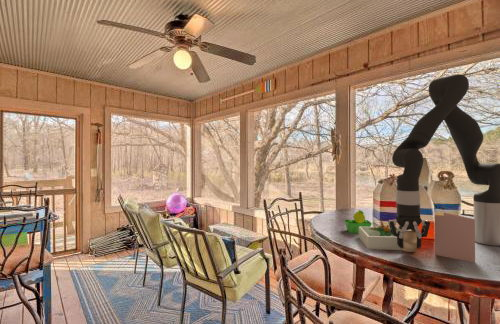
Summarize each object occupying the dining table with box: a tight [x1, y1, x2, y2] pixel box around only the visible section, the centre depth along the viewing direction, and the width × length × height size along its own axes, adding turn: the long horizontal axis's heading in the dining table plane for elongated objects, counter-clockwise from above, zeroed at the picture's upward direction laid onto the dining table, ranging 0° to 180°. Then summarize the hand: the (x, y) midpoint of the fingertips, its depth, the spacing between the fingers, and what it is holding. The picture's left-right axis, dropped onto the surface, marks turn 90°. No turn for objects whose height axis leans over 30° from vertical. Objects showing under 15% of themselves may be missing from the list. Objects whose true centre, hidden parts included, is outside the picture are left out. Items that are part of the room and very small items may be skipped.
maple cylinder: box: [401, 230, 418, 253], centre depth 98 cm, size 5×5×7 cm
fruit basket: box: [344, 210, 372, 234], centre depth 130 cm, size 11×9×11 cm
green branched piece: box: [370, 220, 397, 237], centre depth 114 cm, size 3×12×8 cm, turn 85°
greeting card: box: [433, 212, 476, 263], centre depth 95 cm, size 11×7×15 cm, turn 12°
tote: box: [358, 226, 403, 251], centre depth 112 cm, size 18×16×5 cm
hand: (409, 247), depth 98 cm, fingers closed on maple cylinder, 5 cm apart
